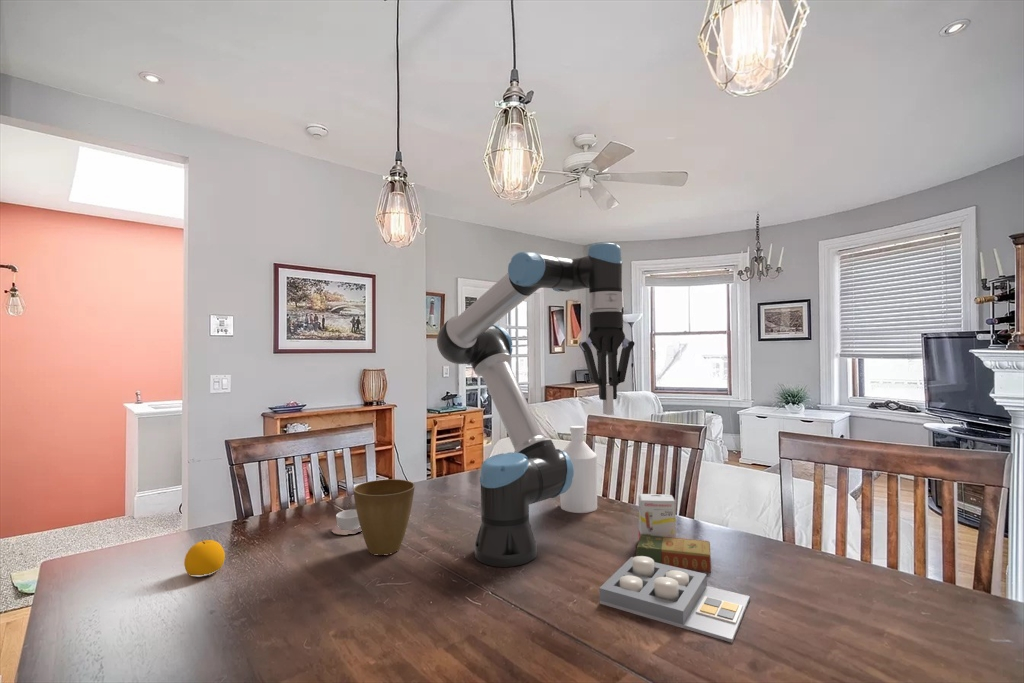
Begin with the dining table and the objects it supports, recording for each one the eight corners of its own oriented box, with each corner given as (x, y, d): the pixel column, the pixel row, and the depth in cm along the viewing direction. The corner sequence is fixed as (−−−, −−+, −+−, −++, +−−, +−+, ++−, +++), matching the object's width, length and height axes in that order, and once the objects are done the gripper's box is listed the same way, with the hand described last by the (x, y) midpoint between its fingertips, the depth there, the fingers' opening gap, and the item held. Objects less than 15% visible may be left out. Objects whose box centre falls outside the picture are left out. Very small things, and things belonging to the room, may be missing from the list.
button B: (629, 574, 104) (629, 561, 104) (637, 566, 107) (636, 554, 107) (650, 579, 101) (649, 566, 101) (657, 571, 105) (656, 559, 105)
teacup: (376, 527, 141) (375, 511, 141) (348, 539, 133) (347, 522, 133) (351, 522, 147) (351, 506, 147) (323, 533, 138) (323, 516, 138)
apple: (230, 573, 114) (229, 540, 114) (190, 585, 108) (189, 551, 108) (218, 563, 119) (218, 531, 119) (179, 574, 113) (179, 541, 113)
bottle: (556, 502, 161) (554, 424, 161) (592, 500, 162) (590, 423, 162) (564, 514, 149) (562, 430, 149) (602, 512, 150) (601, 429, 151)
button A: (616, 595, 98) (616, 582, 98) (624, 586, 102) (624, 573, 102) (638, 601, 95) (637, 587, 95) (645, 591, 99) (645, 578, 99)
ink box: (641, 547, 123) (640, 499, 124) (638, 539, 128) (637, 493, 129) (677, 548, 122) (675, 500, 123) (673, 540, 127) (671, 494, 127)
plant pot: (370, 568, 114) (369, 498, 115) (344, 549, 126) (343, 486, 126) (426, 550, 124) (425, 486, 124) (397, 534, 135) (396, 475, 136)
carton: (711, 573, 109) (710, 554, 109) (636, 564, 115) (635, 545, 115) (710, 558, 117) (709, 540, 117) (640, 550, 123) (639, 532, 123)
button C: (651, 597, 94) (650, 583, 94) (658, 588, 98) (658, 574, 98) (674, 604, 92) (674, 589, 92) (681, 594, 95) (681, 580, 95)
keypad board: (599, 603, 97) (599, 588, 97) (631, 570, 111) (631, 556, 111) (732, 642, 83) (731, 624, 83) (749, 599, 97) (749, 583, 97)
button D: (663, 589, 100) (662, 576, 100) (669, 581, 103) (669, 568, 103) (685, 595, 97) (685, 582, 97) (691, 586, 101) (691, 573, 101)
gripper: (584, 310, 110) (586, 417, 110) (639, 310, 112) (642, 414, 112) (573, 312, 117) (576, 413, 117) (626, 312, 120) (628, 410, 120)
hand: (608, 413), depth 115 cm, fingers closed
